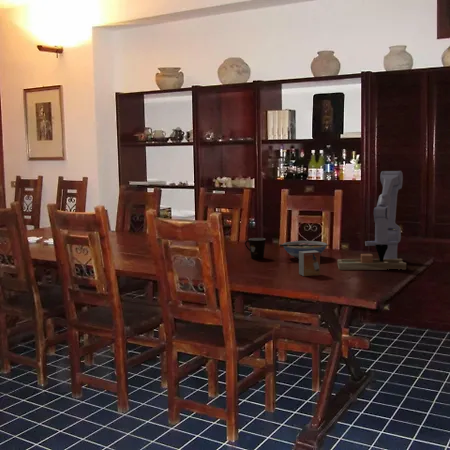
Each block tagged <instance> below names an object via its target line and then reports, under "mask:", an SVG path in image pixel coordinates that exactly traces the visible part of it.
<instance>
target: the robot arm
mask: <svg viewBox="0 0 450 450" xmlns="http://www.w3.org/2000/svg"><path fill="white" fill-rule="evenodd" d="M379 176H380V177H379V178H380V183H381V186H382V191H381V194H380V195H378V200H377V203H376V207H374V208H373V221H374V223H375V224H374V227H375V228H374V240H367V241H366V240H365V241H364V244H365V247H369V246H370V247H371V246H374V248H375V250H376V252H377V254H378V259H379V261H383V259H398V246H399V243H400V242H401V239H402V234H401V233H402V232H401V231H402V230H401V227H400V225H398V224H397V223H396V219H397V218H396V215H397V205H398V193H399V190H402V188H403V182H404V181H403V179H404V176H403V172H402V170H382V171H381V172H380V175H379Z"/></svg>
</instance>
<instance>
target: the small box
mask: <svg viewBox="0 0 450 450" xmlns="http://www.w3.org/2000/svg"><path fill="white" fill-rule="evenodd" d="M298 274H299V275H301V276H302V277H308V276H311V277H312V276H321V254H320V252H318V251H316V250H313V251H299V259H298Z"/></svg>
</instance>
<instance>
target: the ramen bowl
mask: <svg viewBox="0 0 450 450" xmlns="http://www.w3.org/2000/svg"><path fill="white" fill-rule="evenodd" d="M327 246H329V247H331V245H330V244H328V243H326V242H323V241H316V240H295V241H293V240H292V241H288V242H283V243H282V244H280V245H279V247H283V249H284V250H285V251H286V252H287V254H289V255H290V256H291V257H295V258H296V259H298V260H299V251H313V250H316V251H318V252H320V255H322V253H323V252H324V251H325V249H326V248H327Z"/></svg>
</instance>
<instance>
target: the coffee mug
mask: <svg viewBox="0 0 450 450" xmlns="http://www.w3.org/2000/svg"><path fill="white" fill-rule="evenodd" d="M244 243H245V247H246V249H248V251H249V252H250V253H249V254H250V258H252V259H251V260H263V259H264V258H265V248H266V238H264V237H252V238H248V240H246V241H245V242H244ZM247 243H249V245H247ZM248 246H249V247H248Z"/></svg>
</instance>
